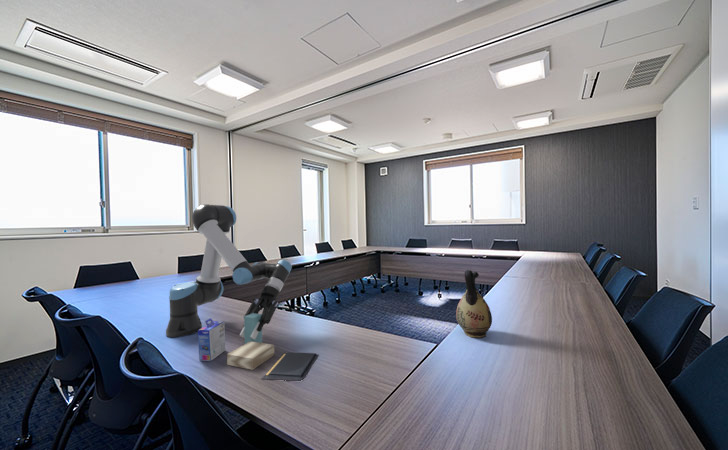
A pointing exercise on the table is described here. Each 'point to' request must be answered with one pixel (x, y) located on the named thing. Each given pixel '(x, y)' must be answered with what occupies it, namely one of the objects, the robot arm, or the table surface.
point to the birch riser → (250, 355)
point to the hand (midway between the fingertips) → (247, 337)
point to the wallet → (291, 367)
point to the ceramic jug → (473, 309)
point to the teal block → (252, 327)
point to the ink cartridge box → (211, 340)
